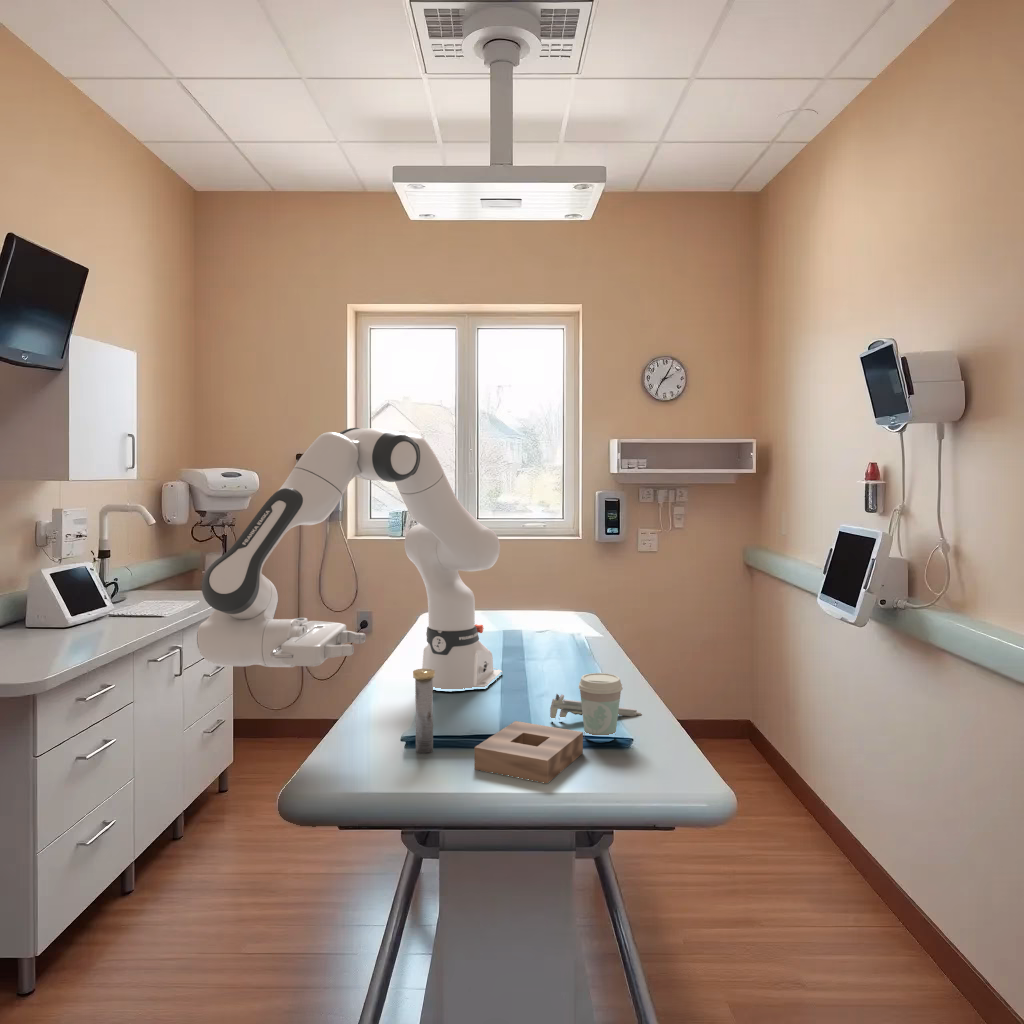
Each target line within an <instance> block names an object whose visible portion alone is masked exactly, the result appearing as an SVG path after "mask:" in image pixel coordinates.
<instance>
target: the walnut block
mask: <svg viewBox="0 0 1024 1024" xmlns="http://www.w3.org/2000/svg"><path fill="white" fill-rule="evenodd" d="M583 744H584V731H578V730H572V729H566V728H559V727H555V726H549V725H544V724H543V725H541V724H536V723H529V722H523V721H517V720H514V721H513V722H511V723H510V724H508V725H507V726H506V727H504V728H502V729H501V730H499V731H498V732H495V733H494V734H493V735H491V736H489V737H488V738H486V739H485V740H484V741H482V742H480V743H479V744H477V745H475V746H474V747H473V748H474V753H473V754H474V755H473V756H474V770H475V771H479V770H481V771H480V772H484V771H485V772H486V773H490V772H493V773H492V774H495V773H498V774H497V775H500V774H503V775H502V776H505V775H509V776H508V777H510V776H513V777H512V778H515V777H519V778H518V779H520V778H523V779H522V780H525V779H529V780H528V781H530V780H533V781H532V782H535V781H538V782H537V783H540V782H544V783H543V784H545V783H548V782H549V781H550V782H551V781H552V780H554V779H555V778H556V777H557V776H558V775H560V774H561V773H562V772H563V771H564V770H565V769H567V768H568V767H569V766H570V765H571V764H572V763H573V762H575V761H576V760H577V759H578V758H579V757H580V756H581V755H582V754H583V753H584V751H583V750H584V745H583ZM553 778H554V779H553ZM550 782H549V783H550ZM549 783H548V784H549Z"/></svg>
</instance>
